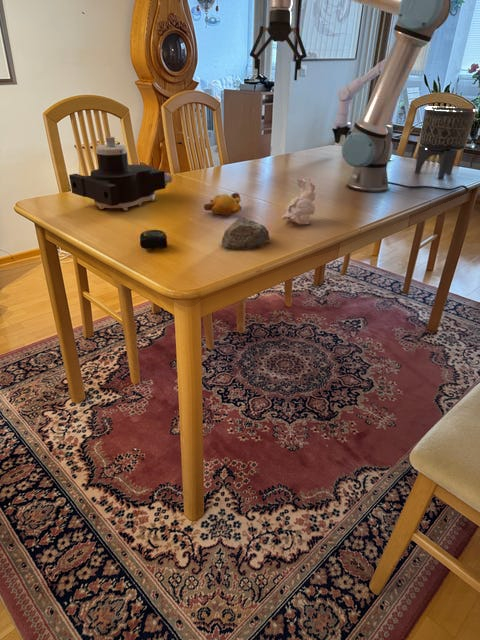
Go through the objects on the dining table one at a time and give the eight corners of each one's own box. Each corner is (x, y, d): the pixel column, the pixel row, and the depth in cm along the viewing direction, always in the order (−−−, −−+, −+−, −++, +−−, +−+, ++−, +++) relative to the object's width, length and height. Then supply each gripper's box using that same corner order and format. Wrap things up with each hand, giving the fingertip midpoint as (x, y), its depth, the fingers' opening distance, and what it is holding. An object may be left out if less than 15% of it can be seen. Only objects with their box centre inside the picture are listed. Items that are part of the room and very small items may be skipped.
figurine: (321, 218, 142) (325, 177, 135) (298, 231, 131) (302, 187, 125) (298, 213, 146) (301, 173, 139) (274, 225, 135) (277, 182, 128)
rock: (255, 233, 128) (256, 211, 124) (276, 242, 122) (278, 219, 119) (217, 244, 120) (217, 220, 117) (239, 254, 115) (239, 230, 111)
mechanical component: (62, 136, 139) (140, 127, 159) (73, 204, 150) (145, 188, 170) (104, 145, 127) (182, 134, 147) (113, 218, 138) (185, 199, 158)
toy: (200, 206, 138) (209, 192, 151) (208, 225, 141) (216, 210, 154) (234, 195, 135) (241, 182, 148) (241, 215, 138) (247, 200, 151)
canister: (334, 144, 241) (335, 134, 239) (343, 144, 241) (344, 134, 239) (335, 145, 237) (336, 135, 235) (344, 146, 237) (346, 136, 235)
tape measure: (140, 252, 115) (139, 238, 113) (141, 242, 120) (140, 229, 119) (167, 251, 116) (166, 237, 114) (167, 241, 121) (166, 228, 120)
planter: (406, 175, 197) (419, 108, 184) (419, 168, 211) (432, 105, 198) (453, 182, 187) (471, 112, 174) (463, 174, 201) (480, 109, 188)
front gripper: (315, 11, 158) (309, 80, 169) (244, 10, 158) (243, 78, 169) (318, 9, 151) (312, 81, 162) (243, 8, 152) (242, 79, 163)
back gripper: (344, 112, 239) (340, 139, 246) (328, 114, 229) (325, 142, 236) (355, 113, 235) (352, 141, 241) (340, 115, 225) (337, 144, 232)
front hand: (276, 80), depth 166 cm, fingers open, 13 cm apart
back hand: (339, 142), depth 239 cm, fingers closed on canister, 5 cm apart
